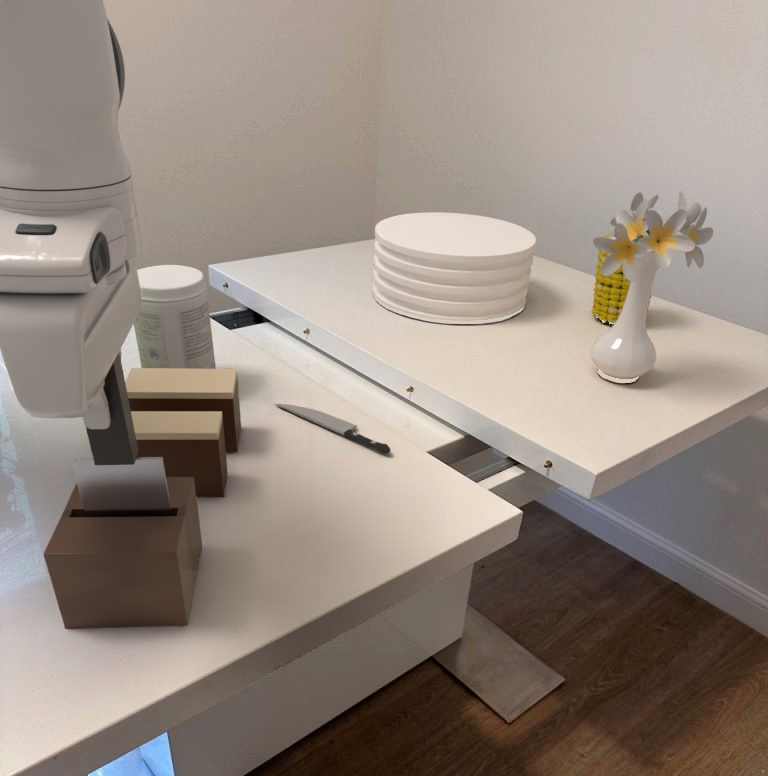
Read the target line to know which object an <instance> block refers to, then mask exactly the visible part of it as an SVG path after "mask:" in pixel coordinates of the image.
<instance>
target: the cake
mask: <svg viewBox="0 0 768 776" xmlns="http://www.w3.org/2000/svg"><path fill="white" fill-rule="evenodd" d="M125 384H126V389H127V394H128V400H129V405H130V410H131V411H216V412H222V417H223V418H222V419H223V428H224V438H225V449H226V454H238V452H239V444H240V438H241V433H242V432H241V431H242V419H241V418H242V417H241V405H240V393H239V380H238V369H237V368H216V369H188V368H142V367H131V368H130V371H129V373H128V375H127V377H126V379H125Z"/></svg>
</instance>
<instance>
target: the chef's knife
mask: <svg viewBox="0 0 768 776" xmlns="http://www.w3.org/2000/svg"><path fill="white" fill-rule="evenodd" d="M274 405H276V406H278V407H279V408H281V409H283V410H285V411H288V412H290V413H292V414H294V415H296V416H299V417H301V418H302V419H305V420H307V421H310V422H312V423H314V424H316V425H319V426H322V427H324V428H326V429H327V430H328V429H329V430H331V431H333V432H335V433H338V434H340V435H342V436H344V437H346V438H348V439H351V440H353V441H355V442H358V443H359V444H363V445H364V446H368V447H370V448H372V449H374V450H376V451H378V452H380V453H383V454H390V452H391V447H389V445H388V444H387V443H383V442H379V441H376V440H374V439H370V438H368V437H366V436H364V435H363V434H360V433H358V432H356V431H354V430H355V429H356V428H357V427H358V425H357V424H354V423H351V422H349V421H346V420H344V419H341V418H338V417H336V416H333V415H331V414H329V413H326V412H324V411H320V410H317V409H314V408H309V407H304V406H299V405H293V404H287V403H274Z"/></svg>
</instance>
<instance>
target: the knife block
mask: <svg viewBox="0 0 768 776" xmlns="http://www.w3.org/2000/svg"><path fill="white" fill-rule="evenodd" d="M166 480H167V486H168V492H169V497H170V503H171V509H172V515H173V516H156V517H86V515H85V511H84V507H83V504H82V500H81V496H80V492H79V488H78V484H77V482H76V484H75V486H74V488H73V490H72V492H71V494H70V496H69V498H68V500H67V503H66V505H65V507H64V509H63V511H62V514H61V515H60V518H59V519H58V521H57V524H56V527H55V528H54V531H53V533H52V534H51V537H50V538H49V541H48V543H47V545H46V547H45V550H44V552H43V558H44V561H45V564H46V568H47V571H48V575H49V578H50V581H51V585H52V589H53V592H54V595H55V598H56V602H57V605H58V609H59V612H60V616H61V619H62V623H63V626H64V629H96V628H97V629H99V628H133V627H134V628H135V627H137V628H139V627H171V626H173V627H174V626H175V627H176V626H177V627H178V626H188V624H189V620H190V614H191V610H192V609H191V608H192V603H193V598H194V592H195V587H196V582H197V577H198V571H199V566H200V561H201V555H202V550H203V540H202V532H201V524H200V515H199V507H198V500H197V499H198V498H197V497H196V491H195V483H194V477H166Z"/></svg>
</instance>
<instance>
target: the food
mask: <svg viewBox="0 0 768 776" xmlns="http://www.w3.org/2000/svg"><path fill="white" fill-rule="evenodd" d="M613 233H614V232H613ZM613 233H611V232H610V233H608V234H605V235H604V236H603V237H606V238H607V237H609V236H610V235H611V234H613ZM642 235H643V236H647V235H648V234H647V233H646V232H645V233H643V234H642ZM638 239H639V238H638ZM611 254H612V253H605V252H602V251H600V250H599V249H598V254H597V258H598V259H597V264H596V268H595V270H596V273H595V275H594V277H595V283H594V287H593V302H592V310H591V314H592V315H593V314H594V315H595V316H594V315H593V316H594V318H595V317H599V318H600V319H601V320H604V321H608V322H611V323H615V322H616V321H617V319H618V318H619V316H620V313H621V311H622V309H623V306H624V303H625V299H626V296H627V293H628V289H629V286H630V282H631V281H629V280H628V279H627V278H626V277H625V275H624V273H623V269H622V266H623V264H622V265H621V266H620V267H619V268H618V270H616V272H614V273H613V274H612V275H610V276H603V275H602V274H601V266H602V264H603V262H604V261H605V259H606V258H607V257H608V256H609V255H611ZM623 263H624V262H623ZM651 298H652V293H651V294H650V298H649V303H648V307H647V313H646V315H648V312H649V307H650V303H651ZM608 322H607V323H608Z"/></svg>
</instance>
